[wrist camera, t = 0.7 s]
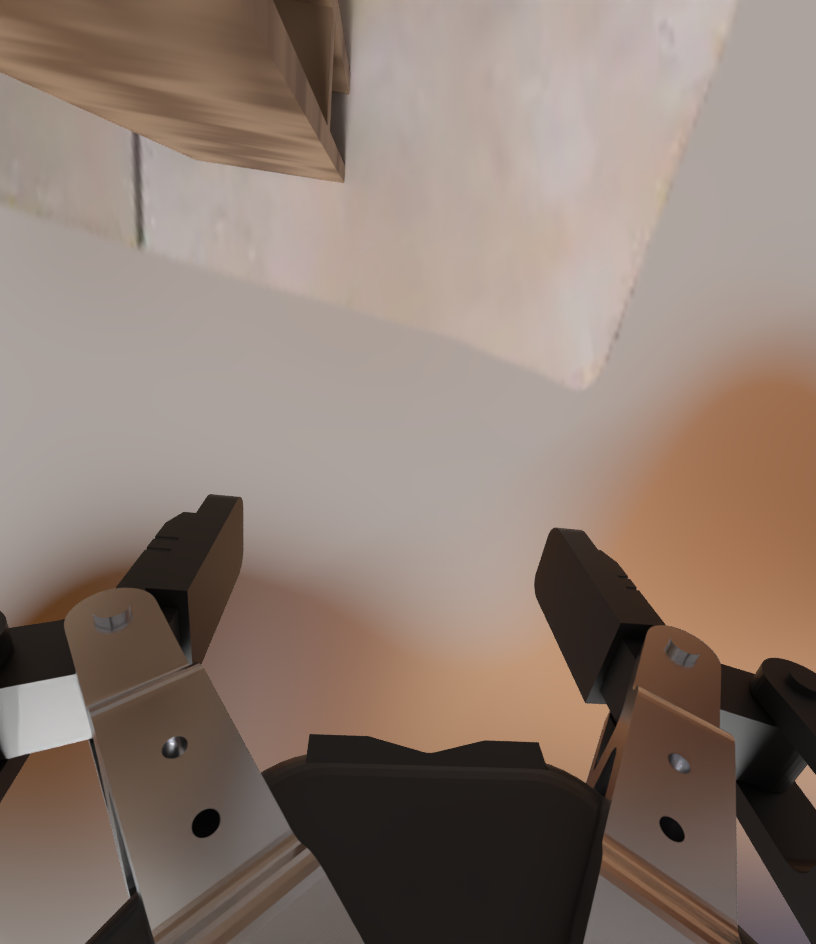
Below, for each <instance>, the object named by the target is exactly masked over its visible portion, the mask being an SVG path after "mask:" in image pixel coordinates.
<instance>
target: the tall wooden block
mask: <svg viewBox="0 0 816 944" xmlns="http://www.w3.org/2000/svg"><path fill="white" fill-rule="evenodd" d="M0 72H1V73H3V74H6V75H8V76H10V77H12V78H14V79H17V80H19V81H21V82H23V83H26V84H28V85H30V86H32V87H35V88H37V89H39V90H41V91H43V92H46V93H48V94H50V95H52V96H55V97H57V98H59V99H61V100H63V101H66V102H68V103H70V104H72V105H75V106H77V107H79V108H81V109H84V110H86V111H88V112H90V113H92V114H95V115H97V116H99V117H101V118H104V119H106V120H108V121H110V122H112V123H115V124H117V125H119V126H121V127H124V128H126V129H128V130H130V131H133V132H135V133H137V134H139V135H141V136H144V137H146V138H148V139H150V140H153V141H155V142H157V143H159V144H161V145H164V146H166V147H168V148H170V149H173V150H175V151H177V152H179V153H182V154H184V155H186V156H188V157H190V158H193V159H195V160H200V161H206V162H212V163H219V164H225V165H232V166H238V167H244V168H251V169H257V170H264V171H270V172H277V173H283V174H289V175H296V176H302V177H309V178H315V179H321V180H328V181H334V182H341V183H344V176H345V165H344V163H343V160H342V158H341V156H340V153H339V151H338V149H337V147H336V144H335V142H334V140H333V137H332V135H331V133H330V118H331V96H332V91H333V92H339V93H345V94H349V91H350V69H349V63H348V57H347V51H346V45H345V39H344V33H343V27H342V21H341V15H340V9H339V2H338V0H0Z"/></svg>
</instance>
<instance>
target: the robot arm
mask: <svg viewBox="0 0 816 944" xmlns="http://www.w3.org/2000/svg"><path fill="white" fill-rule="evenodd" d="M242 558H243V500H242V498H241V497H234V496H223V495H213V494H210V495H208V496H207V498H206V499H205V501H204V502H203V504H202V505H201V506H200V508H199V509H198V511H197V513H189V512H183V513H181V514H179V515H178V516H176V517H174V518H173V519H171V520H170V521H168V522H166V523H165V524H164V526H163V527H162V528H161V529H160V531H159V532H158V533H157V535H156V536H155V539H153V540H152V541H151V543H150V544H149V545H148V546H147V550H144V552H143V553H142V554H141V555H140V557H139V558H138V559H137V561H136V562H135V563H134V565H133V566H132V567H131V569H130V570H129V571H128V572H127V574H126V575H125V576H124V578H123V579H122V580H121V582H120V583H119V584H118V586H117V587H116V588H115V589H111V590H106V591H103V592H100V593H97V594H94V595H92V596H90V597H88V598H86V599H84V600H83V601H81V602H80V603H78V604H77V605H76V606H75V607H74V608H73V609H72V610H71V611H70V612H69V613H68V615H67V617H66V619H63V620H59V621H53V622H46V623H40V624H33V625H27V626H20V627H13V628H8V624H7V621H6V617H5V616H4V614H3V613H2V612H1V611H0V802H1V800H2V799H3V797H4V796H5V794H6V792H7V790H8V789H9V787H10V786H11V784H12V783H13V781H14V779H15V778H16V776H17V774H18V773H19V771H20V770H21V768H22V766H23V765H24V763H25V761H26V760H27V758H28V757H29V755H30V753H33V752H38V751H42V750H46V749H49V748H54V747H58V746H62V745H66V744H70V743H74V742H79V741H83V740H87V739H88V741H89V745H90V748H91V752H92V756H93V760H94V763H95V767H96V771H97V774H98V779H99V782H100V786H101V790H102V794H103V797H104V801H105V805H106V808H107V812H108V816H109V820H110V824H111V828H112V832H113V836H114V840H115V844H116V849H117V853H118V857H119V861H120V865H121V869H122V873H123V877H124V881H125V885H126V889H127V893H128V896H129V900H128V901H127V902H126V903H125V904H124V905H123V906H122V907H121V908H120V909H119V910H118V911H117V912H116V913H115V914H114V915H113V916H112V917H111V918H110V919H109V920H108V921H107V922H106V923H105V924H104V925H103V926H102V927H101V928H100V929H99V930H98V931H97V932H96V933H95V934H94V935H93V936H92V937H91V938H90V939H89V940H88V941H87V942H86V943H85V944H758V943H757V942H755V940H753V939H752V938H751V937H750V936H749V935H748V934H747V933H746V932H745V931H744V930H743V929H742V928H741V927H740V926H739V925H738V924H737V848H736V847H737V846H736V845H737V844H736V817H737V818H738V820H739V822H740V824H741V825H742V827H743V829H744V830H745V832H746V834H747V836H748V837H749V839H750V841H751V842H752V844H753V846H754V847H755V849H756V851H757V852H758V854H759V856H760V857H761V859H762V861H763V863H764V864H765V866H766V868H767V869H768V871H769V873H770V875H771V876H772V878H773V880H774V881H775V883H776V885H777V886H778V888H779V890H780V892H781V893H782V895H783V897H784V898H785V900H786V902H787V903H788V905H789V907H790V909H791V910H792V912H793V914H794V915H795V917H796V919H797V920H798V922H799V924H800V926H801V927H802V929H803V931H804V932H805V934H806V936H807V937H808V939H809V941H810V942H811V944H816V809H815V808H814V807H813V805H812V804H811V802H810V801H809V800H808V799H807V797H806V796H805V795H804V793H803V792H802V790H801V789H800V788H799V786H798V785H797V784H796V782H795V780H796V778H797V777H798V776H799V775H800V773H801V772H802V771H803V770H804V768H805V767H806V766H807V765H809V767H810V768H811V769H812V771H813V772H814V773H815V774H816V673H814V672H813V671H811V670H809V669H807V668H806V667H804V666H801V665H799V664H797V663H794V662H792V661H789V660H785V659H780V658H768V659H766V660H764V661H763V663H762V664H761V666H760V667H759V669H758V670H757V672H756V674H753V673H750V672H746V671H743V670H740V669H736V668H733V667H730V666H726V665H723V664H721V663H720V661H719V659H718V657H717V655H716V654H715V653H714V652H713V651H712V650H711V648H709V647H708V646H707V645H706V644H705V643H704V642H703V641H701V640H700V639H698V638H697V637H695V636H693V635H692V634H690V633H688V632H686V631H684V630H681V629H679V628H675V627H672V626H666V625H665V623H664V622H663V621H662V620H661V618H660V617H659V616H658V614H657V613H656V612H655V611H654V609H653V608H652V607H651V606H650V604H649V603H648V602H647V600H646V599H645V598H644V596H643V595H642V594H641V593H640V591H638V590H636V586H635V585H634V584H633V582H632V581H631V580H630V579H628V576H627V575H626V573H625V572H624V571H623V569H622V568H621V567H620V566H619V564H618V563H617V562H616V561H614V560H613V559H612V558H610V557H609V556H608V555H606V554H605V553H604V552H602V551H601V550H598V549H597V548H596V547H595V545H594V544H593V543H592V541H591V540H590V538H589V537H588V536H587V534H586V533H585V532H584V531H582V530H575V529H564V528H553V529H552V530H551V531H550V533H549V535H548V538H547V541H546V544H545V547H544V550H543V553H542V557H541V560H540V563H539V566H538V569H537V572H536V575H535V583H534V586H535V594H536V598H537V600H538V602H539V605H540V607H541V609H542V611H543V613H544V615H545V617H546V620H547V622H548V624H549V626H550V628H551V630H552V632H553V635H554V637H555V639H556V641H557V643H558V645H559V648H560V650H561V652H562V654H563V656H564V658H565V660H566V663H567V665H568V667H569V669H570V671H571V673H572V676H573V678H574V680H575V682H576V684H577V686H578V688H579V690H580V693H581V695H582V697H583V699H584V701H585V703H593V704H607V705H608V707H609V709H610V711H609V713H608V716H607V718H606V720H605V722H604V726H603V729H602V732H601V736H600V739H599V742H598V745H597V748H596V752H595V755H594V758H593V762H592V765H591V768H590V772H589V775H588V778H587V781H586V783H584V782H583V781H581V780H580V779H578V778H577V777H575V776H573V775H571V774H569V773H567V772H566V771H564V770H561V769H559V768H557V767H554V766H552V765H549V764H546V763H545V761H544V758H543V755H542V752H541V749H540V746H539V743H537V742H512V741H481V742H477V743H472V744H468V745H464V746H460V747H456V748H452V749H447V750H443V751H439V752H435V753H425V752H421V751H417V750H414V749H410V748H407V747H404V746H400V745H397V744H393V743H390V742H386V741H383V740H379V739H376V738H373V737H369V736H346V735H318V734H317V735H316V734H310V735H309V743H308V750H307V754H306V755H302V756H298V757H294V758H291V759H288V760H286V761H283V762H280V763H278V764H276V765H274V766H272V767H270V768H268V769H266V770H264V771H263V772H261V773H260V771H259V769H258V767H257V765H256V763H255V762H254V760H253V758H252V756H251V754H250V752H249V750H248V749H247V747H246V745H245V743H244V741H243V740H242V738H241V736H240V734H239V732H238V730H237V728H236V727H235V725H234V723H233V721H232V719H231V718H230V716H229V714H228V712H227V710H226V708H225V706H224V704H223V702H222V701H221V699H220V697H219V695H218V693H217V692H216V690H215V688H214V686H213V684H212V682H211V680H210V678H209V677H208V675H207V673H206V671H205V669H204V668H203V666H202V665H201V664H202V661H203V659H204V657H205V654H206V652H207V649H208V647H209V644H210V642H211V640H212V637H213V635H214V633H215V630H216V628H217V626H218V623H219V621H220V619H221V616H222V614H223V611H224V609H225V607H226V604H227V601H228V599H229V597H230V594H231V592H232V590H233V587H234V585H235V583H236V580H237V578H238V575H239V573H240V569H241V565H242Z"/></svg>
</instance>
